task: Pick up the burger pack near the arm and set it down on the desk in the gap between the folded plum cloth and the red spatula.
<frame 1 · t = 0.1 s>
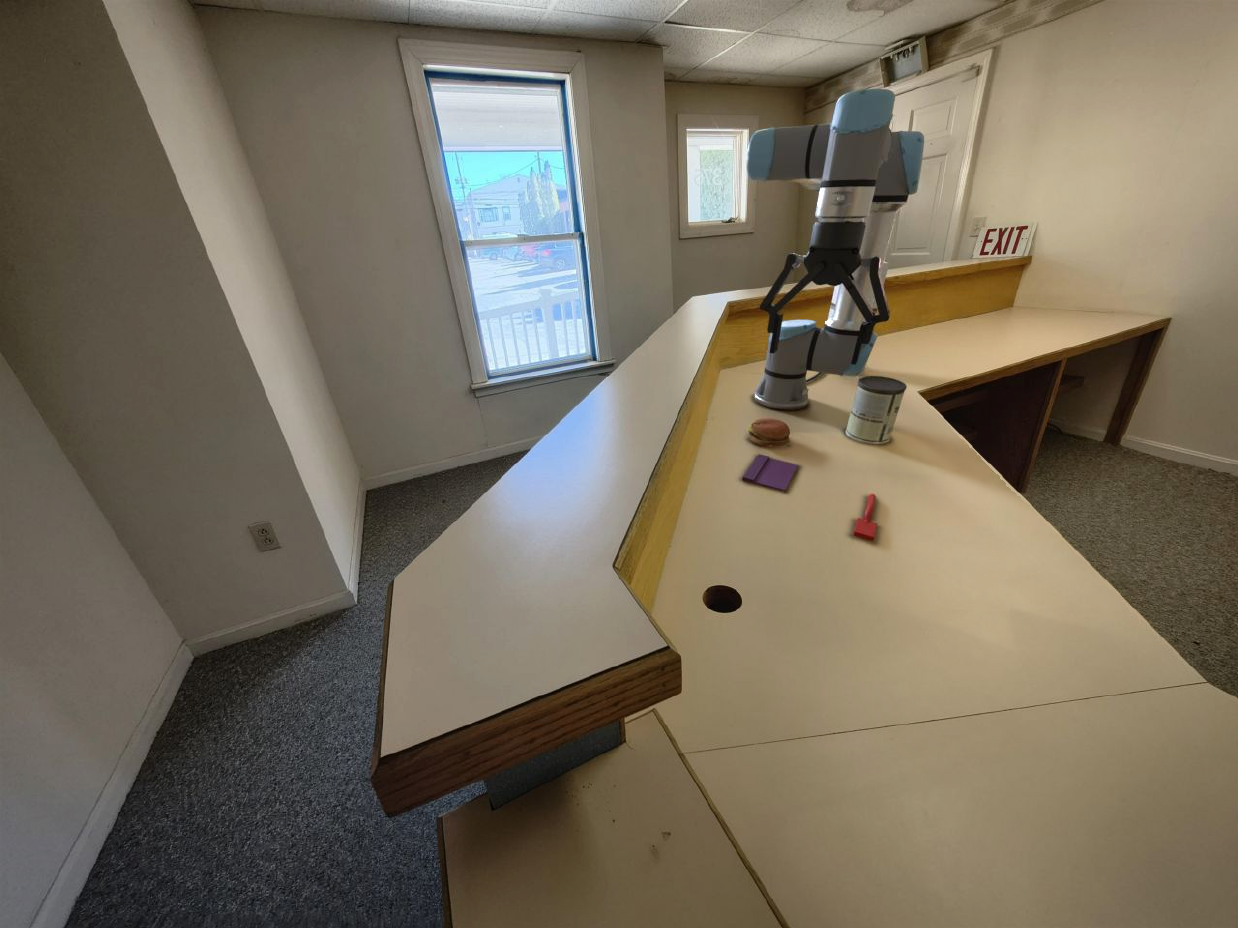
hand: (812, 357, 80), 28 cm above the worktop, tool pointing down, fingers open, 13 cm apart
coffee can: (866, 436, 115), on the worktop
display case: (839, 366, 165), on the worktop
red spatula: (868, 514, 86), on the worktop
burger: (767, 440, 114), on the worktop
cloth: (770, 473, 100), on the worktop
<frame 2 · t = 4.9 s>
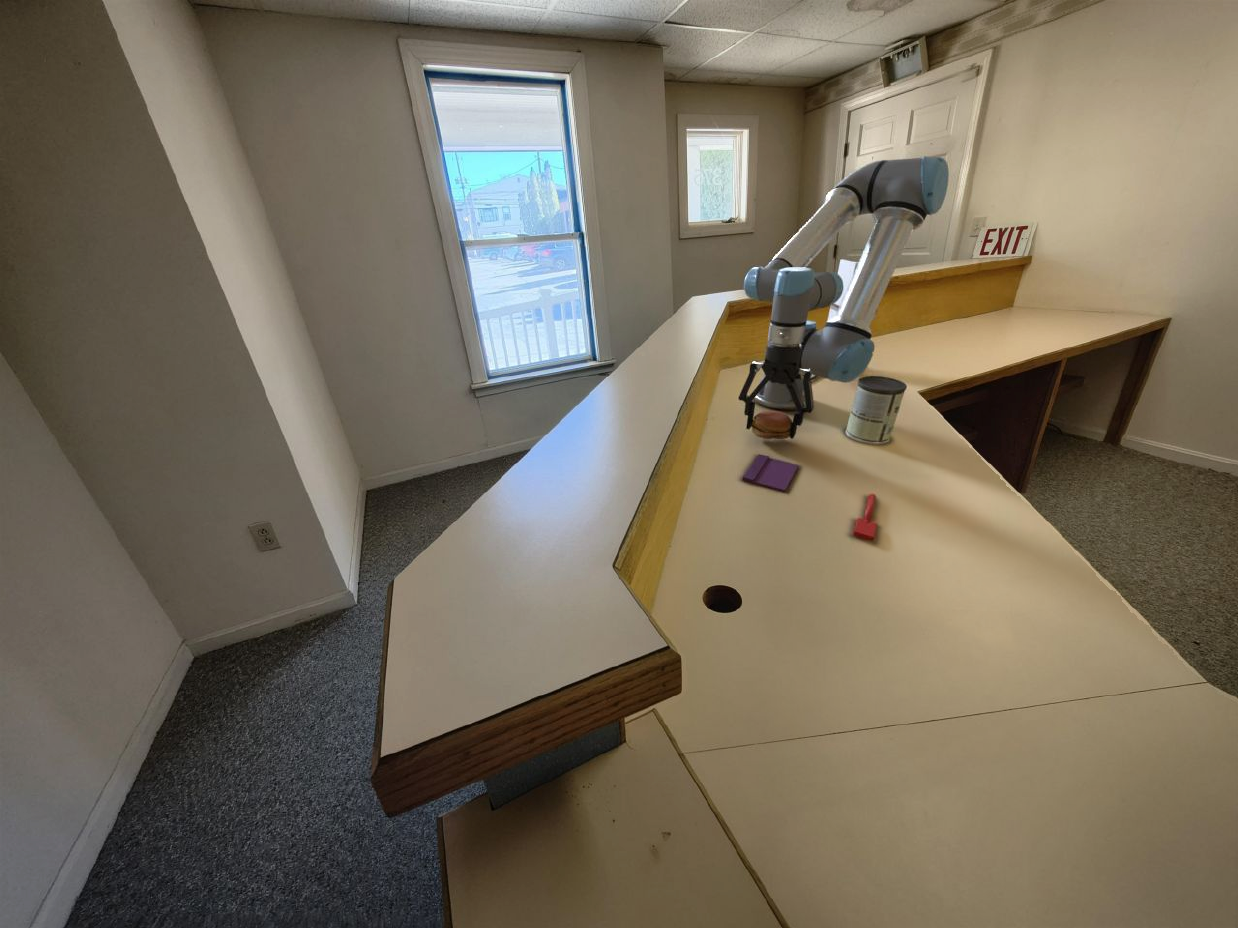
hand: (770, 431, 113), 2 cm above the worktop, tool pointing down, fingers closed on burger, 10 cm apart
burger: (770, 433, 113), point 2 cm above the worktop, touching gripper
everything else where it was.
when the fingers open (0 cm above the worktop, at t = 11.2 s): burger stays where it is, on the worktop.
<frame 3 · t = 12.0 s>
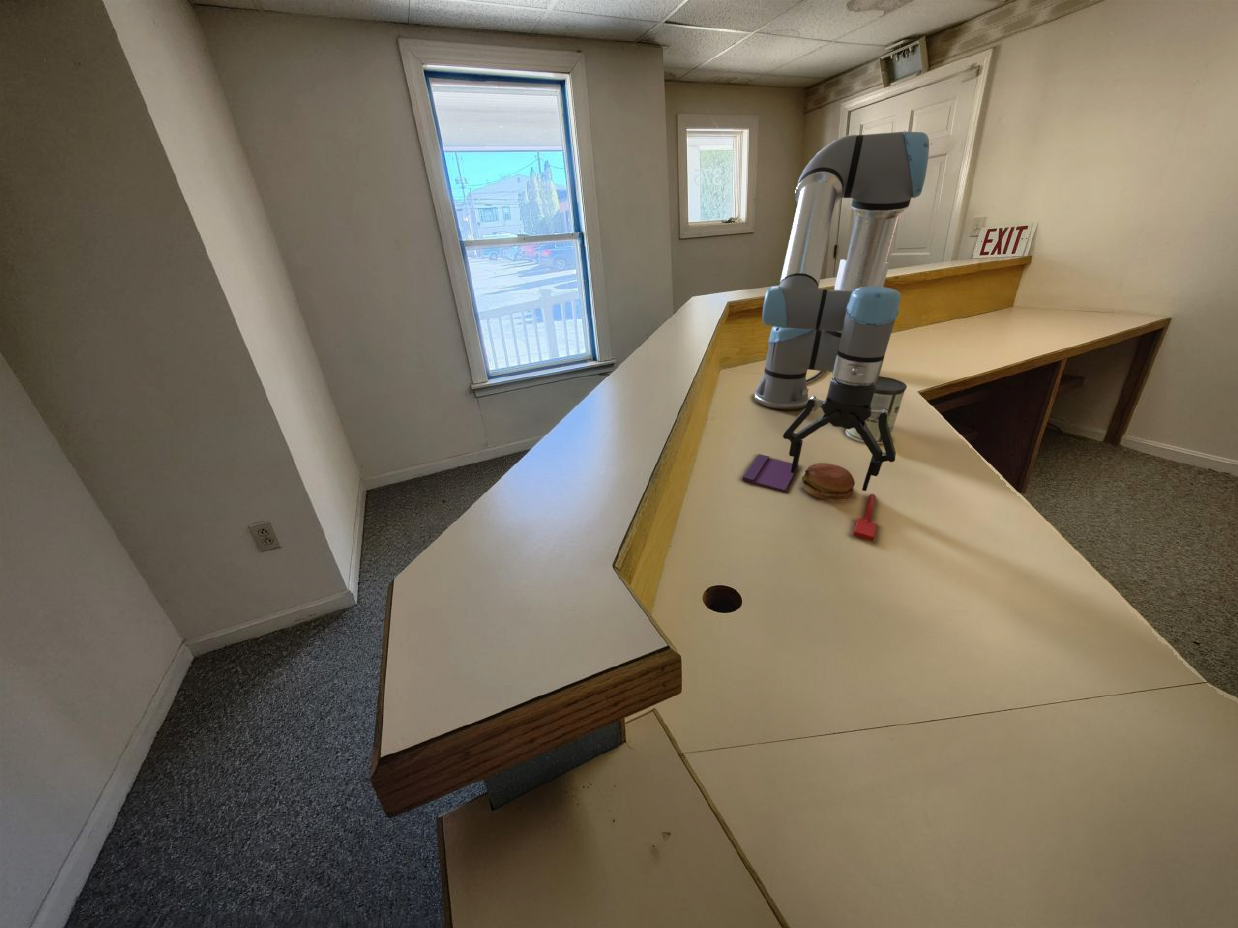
hand: (828, 478, 93), 2 cm above the worktop, tool pointing down, fingers open, 13 cm apart
burger: (825, 490, 94), on the worktop
everything else where it was.
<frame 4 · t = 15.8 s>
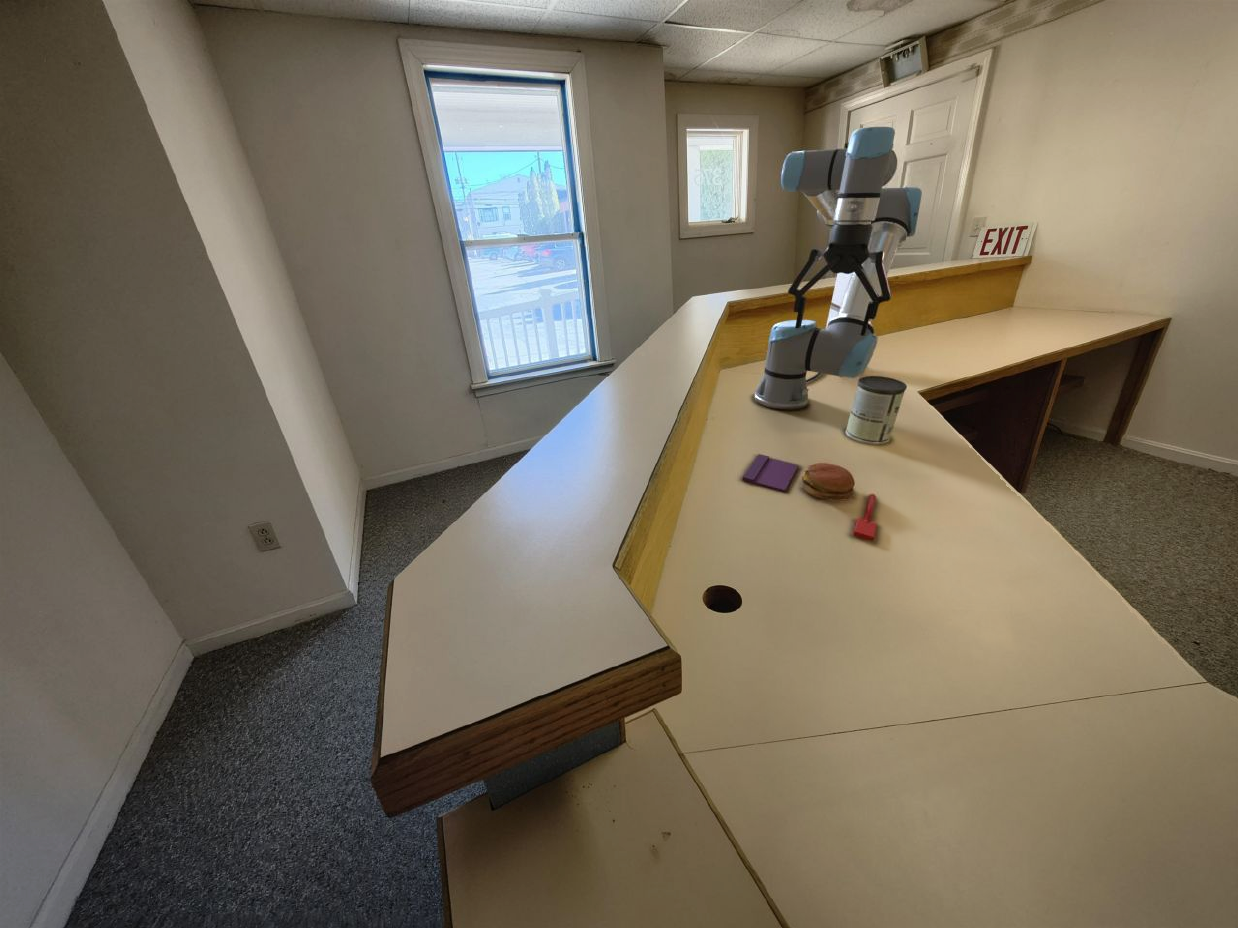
hand: (829, 330, 101), 27 cm above the worktop, tool pointing down, fingers open, 13 cm apart
nothing on the worktop moved.
at the end: burger inside the target area on the worktop beside the red spatula (0.1 cm from its centre), on the worktop; burger tilted 0°; the gripper is holding nothing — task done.
